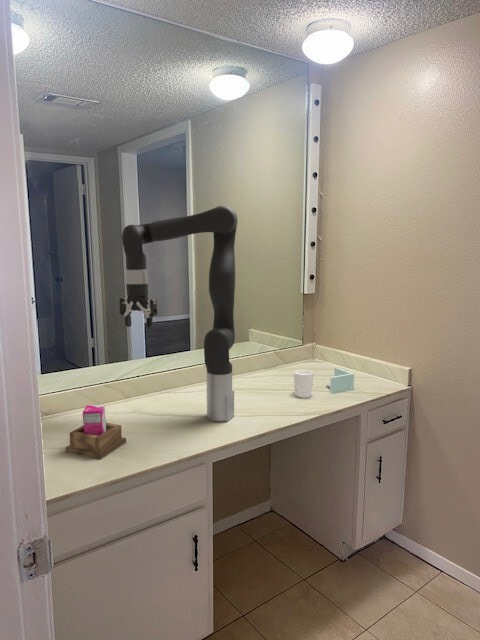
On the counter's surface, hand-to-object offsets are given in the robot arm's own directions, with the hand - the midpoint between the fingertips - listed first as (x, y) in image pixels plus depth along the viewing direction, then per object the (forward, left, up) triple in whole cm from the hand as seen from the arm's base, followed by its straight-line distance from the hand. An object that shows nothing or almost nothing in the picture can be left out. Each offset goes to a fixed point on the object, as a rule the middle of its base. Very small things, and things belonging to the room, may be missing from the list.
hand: (138, 327), depth 175 cm
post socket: (-3, +30, -33) cm, 44 cm away
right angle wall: (-60, -60, -34) cm, 91 cm away
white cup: (-50, -44, -33) cm, 74 cm away
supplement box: (-3, +30, -31) cm, 43 cm away
